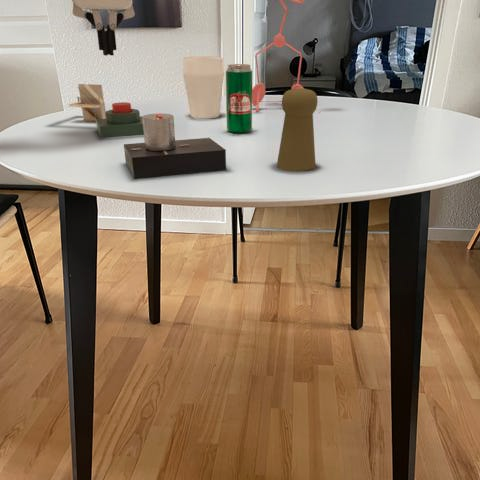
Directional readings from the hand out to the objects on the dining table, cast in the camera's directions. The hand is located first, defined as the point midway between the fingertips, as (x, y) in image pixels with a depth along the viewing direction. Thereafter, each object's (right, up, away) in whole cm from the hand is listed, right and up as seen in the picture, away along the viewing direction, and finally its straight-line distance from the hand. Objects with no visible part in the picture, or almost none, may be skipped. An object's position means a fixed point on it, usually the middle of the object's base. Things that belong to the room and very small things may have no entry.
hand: (108, 54), depth 92 cm
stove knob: (+12, -23, -16) cm, 30 cm away
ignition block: (+1, -11, +9) cm, 14 cm away
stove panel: (+14, -25, -14) cm, 32 cm away
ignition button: (+1, -8, +7) cm, 10 cm away
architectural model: (-8, -5, +19) cm, 21 cm away
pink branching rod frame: (+35, +4, +33) cm, 48 cm away
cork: (+33, -25, -14) cm, 44 cm away
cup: (+16, -2, +24) cm, 29 cm away
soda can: (+24, -11, +9) cm, 28 cm away
